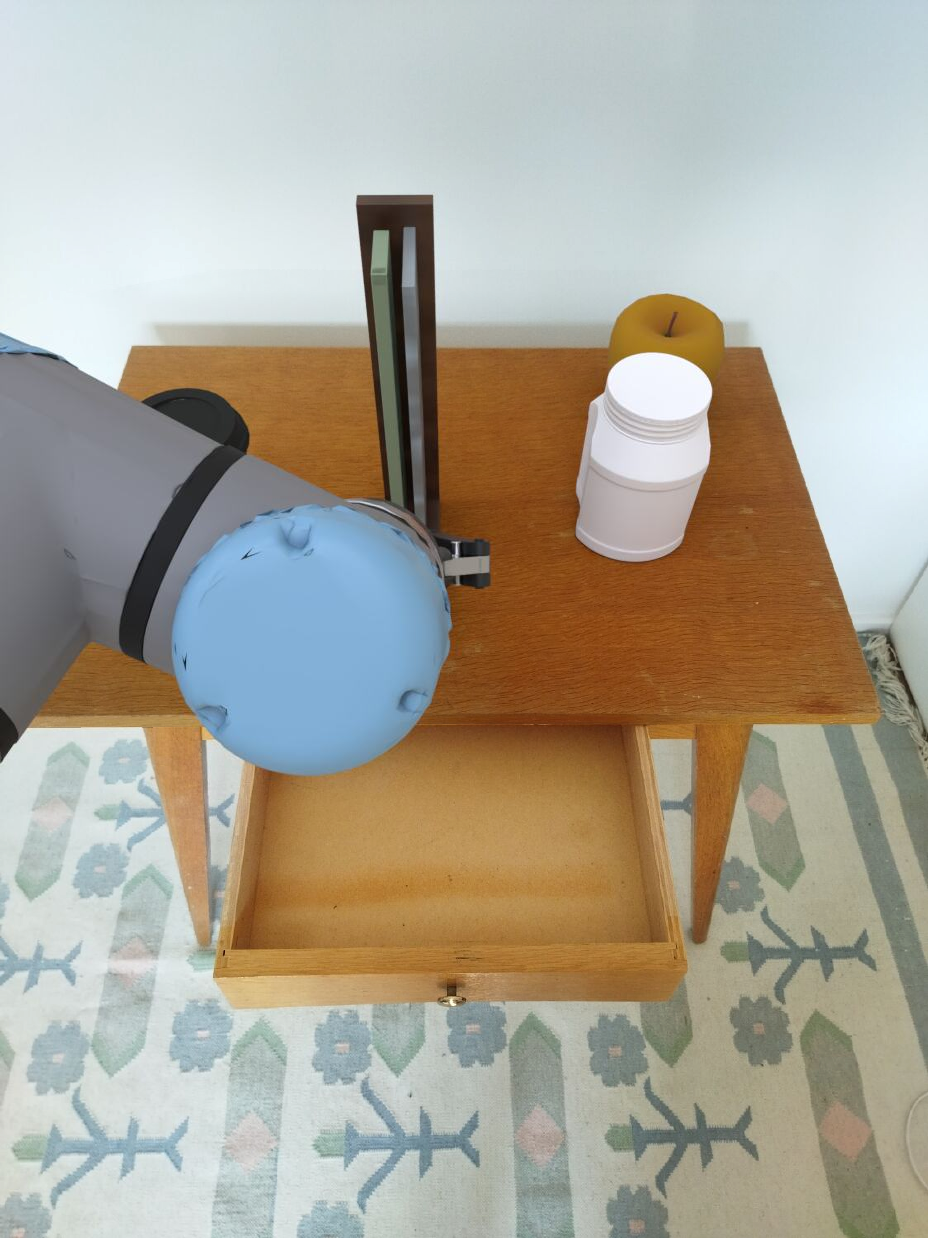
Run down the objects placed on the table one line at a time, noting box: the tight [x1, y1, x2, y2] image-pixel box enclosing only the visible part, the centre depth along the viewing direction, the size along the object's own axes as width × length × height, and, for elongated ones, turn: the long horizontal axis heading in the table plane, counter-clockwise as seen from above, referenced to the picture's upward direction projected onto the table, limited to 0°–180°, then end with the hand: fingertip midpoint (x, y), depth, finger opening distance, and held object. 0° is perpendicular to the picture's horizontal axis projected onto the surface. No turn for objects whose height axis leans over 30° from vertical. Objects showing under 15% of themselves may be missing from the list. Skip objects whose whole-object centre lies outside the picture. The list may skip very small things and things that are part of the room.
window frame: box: [355, 194, 441, 532], centre depth 61 cm, size 5×14×29 cm, turn 1°
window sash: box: [371, 230, 407, 509], centre depth 62 cm, size 1×5×26 cm, turn 1°
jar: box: [575, 353, 713, 563], centre depth 70 cm, size 12×10×15 cm
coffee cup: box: [140, 387, 251, 454], centre depth 67 cm, size 10×10×15 cm
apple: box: [607, 293, 726, 389], centre depth 79 cm, size 11×11×13 cm
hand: (390, 542), depth 60 cm, fingers closed
